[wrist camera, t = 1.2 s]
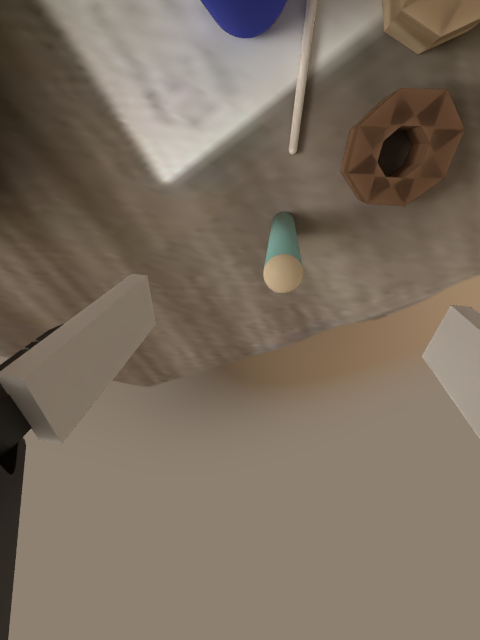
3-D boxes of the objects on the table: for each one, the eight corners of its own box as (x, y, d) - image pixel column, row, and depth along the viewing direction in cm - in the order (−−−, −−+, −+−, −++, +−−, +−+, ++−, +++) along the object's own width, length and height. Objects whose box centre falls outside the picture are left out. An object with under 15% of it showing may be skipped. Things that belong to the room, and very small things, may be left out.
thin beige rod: (296, 154, 25) (296, 154, 24) (288, 154, 25) (288, 154, 24) (331, -109, 17) (333, -119, 16) (319, -108, 17) (321, -119, 16)
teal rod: (271, 234, 29) (260, 297, 16) (273, 211, 28) (264, 259, 14) (292, 235, 29) (300, 301, 16) (296, 212, 28) (307, 262, 14)
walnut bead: (334, 197, 26) (341, 202, 23) (357, 97, 22) (368, 87, 19) (415, 202, 26) (432, 207, 23) (454, 99, 21) (481, 89, 18)
